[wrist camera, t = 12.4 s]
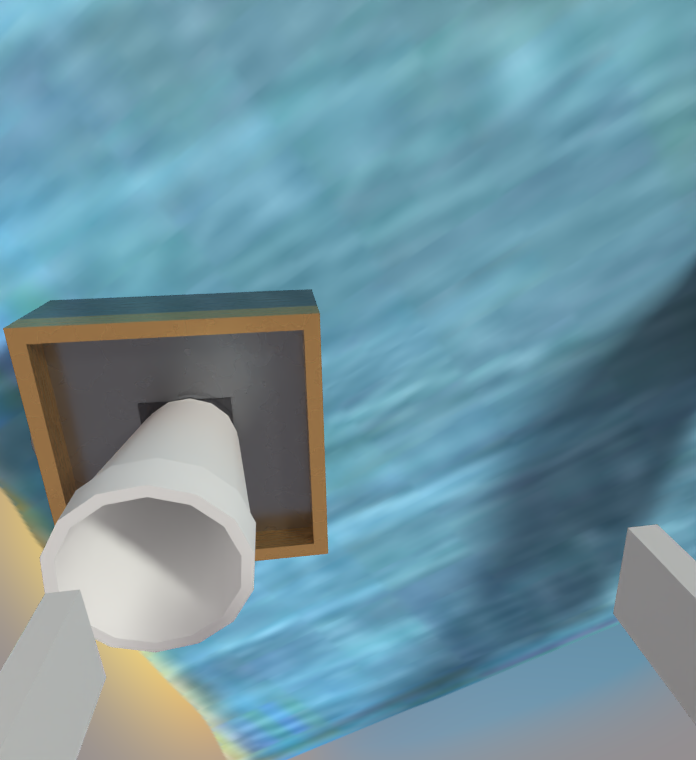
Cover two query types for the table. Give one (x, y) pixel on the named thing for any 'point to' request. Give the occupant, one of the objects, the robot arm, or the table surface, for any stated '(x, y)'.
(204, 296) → the wooden drawer tray
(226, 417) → the foam cup
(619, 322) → the table surface
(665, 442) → the table surface
